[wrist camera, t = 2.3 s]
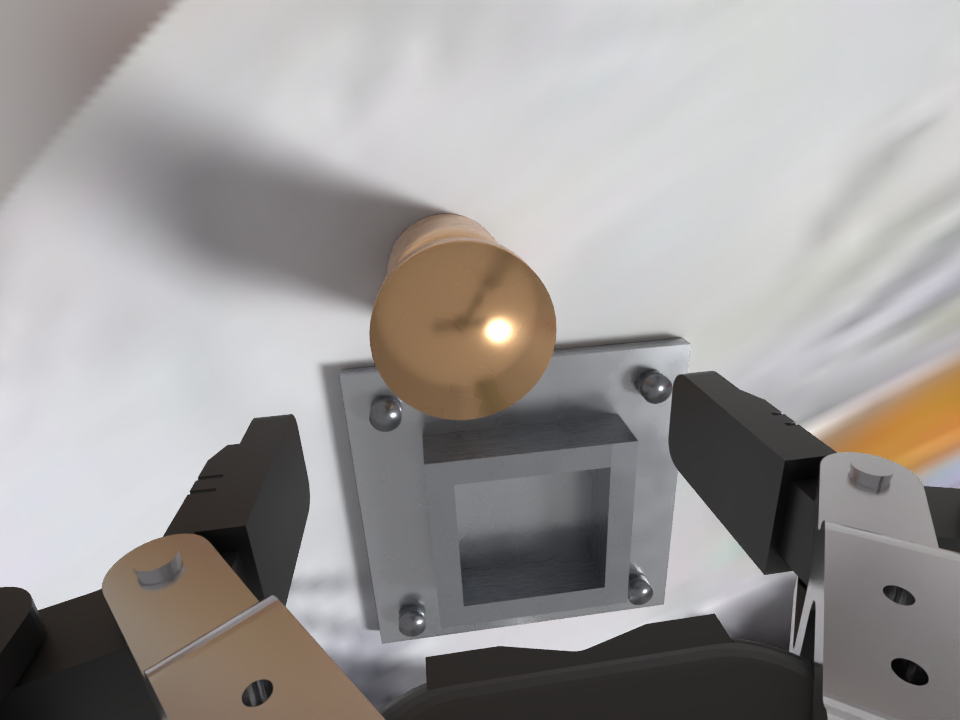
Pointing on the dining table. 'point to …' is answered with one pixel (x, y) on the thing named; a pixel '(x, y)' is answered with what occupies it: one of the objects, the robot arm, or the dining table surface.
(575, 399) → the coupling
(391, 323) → the round knob
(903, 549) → the robot arm
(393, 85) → the dining table surface
